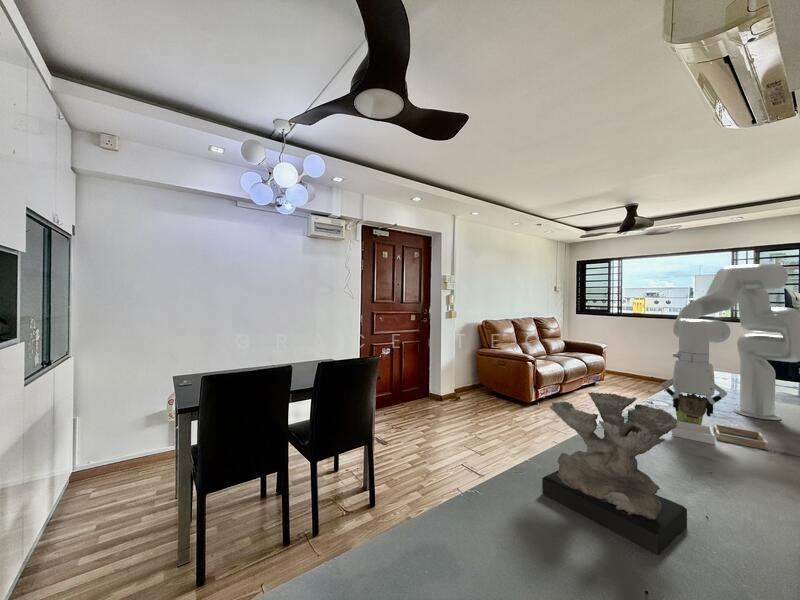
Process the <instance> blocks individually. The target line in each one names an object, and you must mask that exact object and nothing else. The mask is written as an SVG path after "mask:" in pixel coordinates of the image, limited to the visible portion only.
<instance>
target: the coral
mask: <svg viewBox="0 0 800 600" xmlns="http://www.w3.org/2000/svg"><path fill="white" fill-rule="evenodd" d="M587 394H588V396H589V397H590V399H591V400H592V402H593V403H594V405H595V407H596V408H597V412H598V413H599V414H597V413H588V412H586V411H583V410H579V409H576V408H575V406H574V405H573V403H570V402H568V401H560V402H558V401H556V402H554V401H552V402H551V405H549V408H550V409H551V410H552V411H553V412H554V413H555V414H556V415H557V416H558V417H559V418H561V420H562V421H563V423H565V424H566V425H567V426H568V427H569V428H571V429H572V430H574V431H575V432H576V433H577V434H578V435H579V436H580V437H581V438H582V439H583V442H584V444H585V445H586V451H582V450H577V451H575V452H574V453H571V454H570V455H569V454H568V453H565V452H562V453H560V455H559V456H558V458H557V463H558V469H557V470H556V471H553V472H551V473H549V474H547V475H545V476H544V477H542V478H541V480H542V482H541V483H542V484H541V485H542V486H541V487H542V488H541V489H542V491H541V492H542V494H543V495H544V496H546V497H548V498H549V499H550V498H551V500H554V501H556V502H558V503H560V504H562V505H563V506H565V507H567V508H569V509H571V510H573V511H575V512H576V513H579V514H580V515H582V516H583V517H586V518H587V519H589V520H591V521H593V522H595V523H597V524H599V525H601V526H603V527H604V528H606V529H608V530H610V531H611V532H613V533H615V534H617V535H619V536H622V537H623V538H625V539H627V540H629V541H630V542H632V543H634V544H636V545H638V546H640V547H642V548H644V549H646V550H647V551H649V552H651V553H653V554H655V555H658V556H659V555H660V554H661V553H662V552H663V551H664V550H665V549H666V548H667V547H668V546H670V544H671V543H672V542H673V541H674V540H675V539H676V538H677V537H679V536H680V534H682V533H683V532H684V531H685V530H686V528H687V527H688V509H687V508H686V507H685V506H684V505H682V504H679V503H677V502H674V501H673V500H672V501H671V500H669V499H667V498H664V497H662V496H660V495H657V492H658V490H660V489H661V487H660V486H659V485H658V484H657V483H656V482H654V481H653V479H652V478H651V477H650V476H649V474H647V473H644V472H643V471H642V470H640V469H639V468H638V460H637V458H636V456H638V455H643V454H645V453H647V452H649V451H650V450H652V449H653V448H654V447H655V446H657V445H659V444H662V443H664V442H666V439H665V438H664V437H663V436H664V435H666V434H669V432H671V431H672V429H675V428H676V427H677V425H676V423H677V418H675V417H674V416H673V415H672V414H671V413H670V412H667V411H666V410H664V409H662V408H656V407H655V408H654V407H653V406H648V405H645V404H635V405H634V409H633V408H632V409H628V411H627V420H626V422H625V417H624V416H623V411H624V410H625V409H626V408H627V407H629V406H630V405H633V403H634V402H636V400H637V397H635V396H634V397H628V396H622V395H620V394H619V395H618V394H617V393H606V392H605V393H603V392H600V393H599V392H587ZM599 415H600V417H601V420H602V421H601V420H598V417H599ZM597 420H598V422H597ZM598 423H599V424H600V426H601V427H602V429H603V435H604V436H603V438H601V437H599V436H598V435H597V434H596V430H597V427H598Z"/></svg>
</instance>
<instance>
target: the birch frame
mask: <svg viewBox="0 0 800 600" xmlns="http://www.w3.org/2000/svg"><path fill="white" fill-rule="evenodd" d="M712 430H713V433H714V436H715V438H716V440H717V441H723V442H727V443H732V444H735V445H736V444H737V445H741V446H746V447H751V448H757V449H762V450H763V449H764V450H766V451H768V449H769V442H768V441H767V440H766V438H765V437H764V435H763V434H762V433H761V432H760V431H755V430H750V429H743V428H739V427H732V426H727V425H721V424H716V423H713V428H712ZM725 433H726V434H725ZM727 433H728V434H727ZM730 434H732V435H730ZM735 435H737V436H735ZM742 436H743V437H742ZM747 437H749V438H747ZM752 438H753V439H752ZM756 439H757V440H756Z"/></svg>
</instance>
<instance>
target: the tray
mask: <svg viewBox="0 0 800 600" xmlns="http://www.w3.org/2000/svg"><path fill="white" fill-rule="evenodd" d="M676 425H677V427H676V428H675V429H672V430H671V431H672V433H671V435H672V437H677V438H682V439H686V440H691V441H697V442H701V443H705V444H711V445H716V444H715V440H716V439H715V438H716V436H715V433H714V430H713V428H712V426H707V425H702V424H701V425H698V424H692V423H687V422H681V421H677V423H676Z"/></svg>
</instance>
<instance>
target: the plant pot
mask: <svg viewBox="0 0 800 600" xmlns="http://www.w3.org/2000/svg"><path fill="white" fill-rule="evenodd" d="M671 401H672V402H673V398H672V399H671ZM675 414H676V419H677V421H681V422H687V423H692V424H698V425H702V424H703V423H702V422H703V418H704V415H703V416H701V417H699V418H700V420H699V421H698V422H693V421H689V420H687V419H686V418H685V415H686V414H684V413H683V412H682V411H681V410H680V406H679V411H676V408H675Z"/></svg>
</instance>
